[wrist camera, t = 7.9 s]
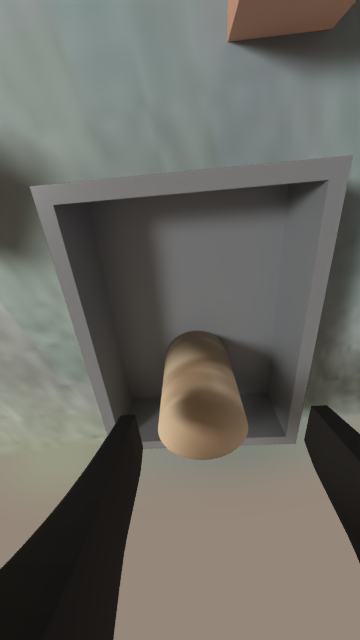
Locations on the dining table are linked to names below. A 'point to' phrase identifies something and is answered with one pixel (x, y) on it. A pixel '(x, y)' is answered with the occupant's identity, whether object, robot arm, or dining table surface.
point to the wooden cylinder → (200, 399)
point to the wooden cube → (282, 17)
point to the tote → (198, 280)
